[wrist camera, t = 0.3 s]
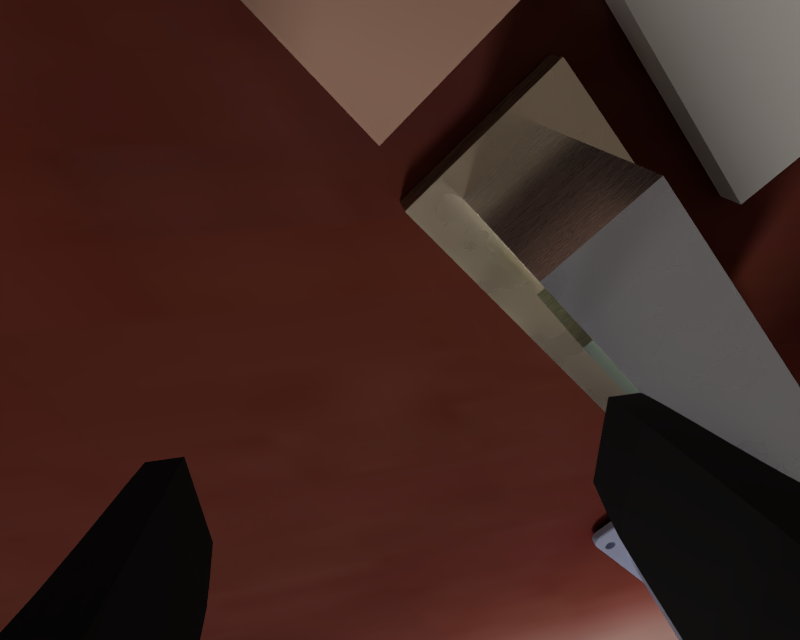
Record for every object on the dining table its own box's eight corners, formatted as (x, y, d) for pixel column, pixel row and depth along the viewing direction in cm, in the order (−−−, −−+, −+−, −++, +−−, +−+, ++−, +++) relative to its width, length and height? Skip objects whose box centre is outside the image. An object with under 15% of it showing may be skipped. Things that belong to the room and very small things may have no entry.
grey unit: (738, 332, 22) (907, 451, 16) (618, 422, 23) (730, 563, 17) (548, 54, 15) (708, 73, 9) (399, 201, 17) (454, 301, 11)
